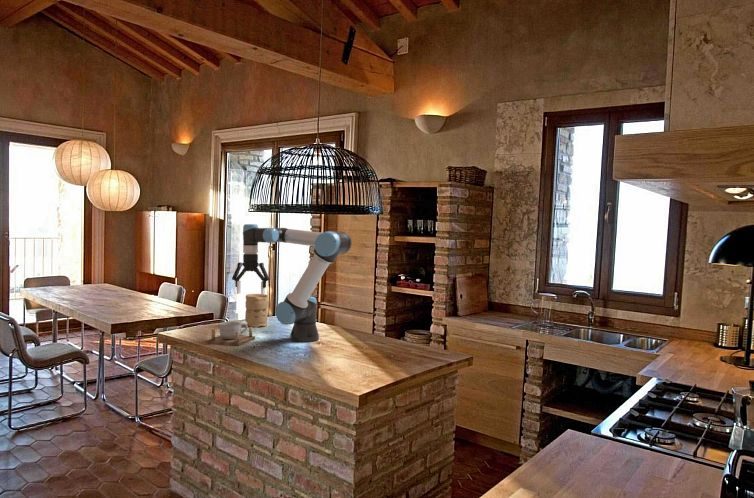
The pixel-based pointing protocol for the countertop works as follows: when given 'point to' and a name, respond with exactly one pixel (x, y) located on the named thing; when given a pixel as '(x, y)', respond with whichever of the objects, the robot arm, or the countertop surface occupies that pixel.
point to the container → (256, 310)
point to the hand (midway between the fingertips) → (250, 293)
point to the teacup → (231, 329)
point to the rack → (235, 342)
